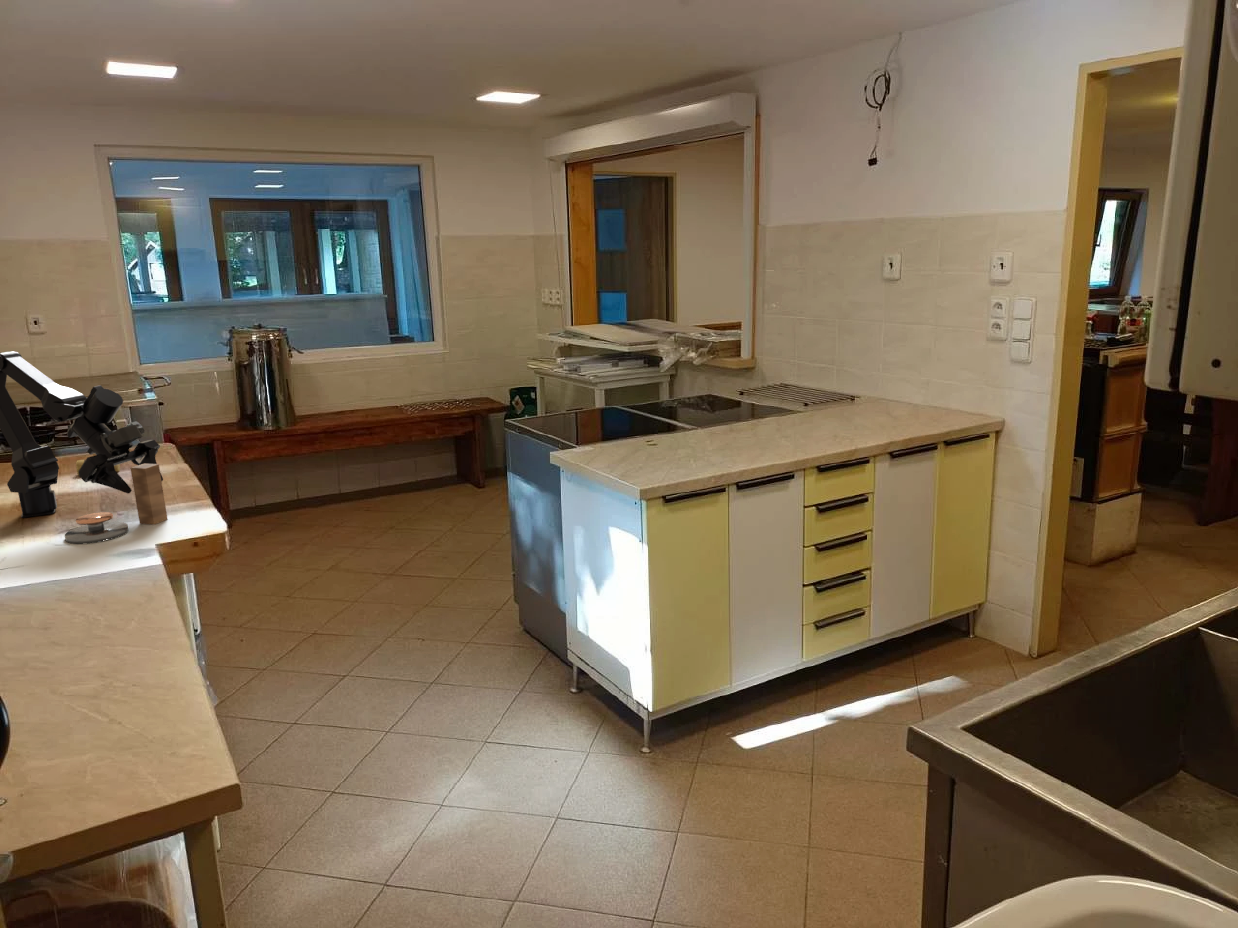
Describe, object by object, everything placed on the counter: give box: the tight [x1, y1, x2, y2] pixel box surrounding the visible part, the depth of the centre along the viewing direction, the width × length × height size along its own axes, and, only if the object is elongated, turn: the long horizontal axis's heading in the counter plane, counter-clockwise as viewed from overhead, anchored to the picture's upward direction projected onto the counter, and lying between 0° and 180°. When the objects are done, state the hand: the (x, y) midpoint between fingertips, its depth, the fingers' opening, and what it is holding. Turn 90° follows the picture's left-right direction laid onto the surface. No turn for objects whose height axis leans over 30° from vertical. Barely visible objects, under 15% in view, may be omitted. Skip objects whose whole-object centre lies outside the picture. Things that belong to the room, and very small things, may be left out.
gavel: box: [75, 459, 121, 477], centre depth 254 cm, size 21×5×10 cm
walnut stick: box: [129, 463, 168, 526], centre depth 199 cm, size 4×4×13 cm
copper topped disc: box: [64, 511, 129, 545], centre depth 192 cm, size 12×12×4 cm
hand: (146, 486), depth 199 cm, fingers open, 9 cm apart
